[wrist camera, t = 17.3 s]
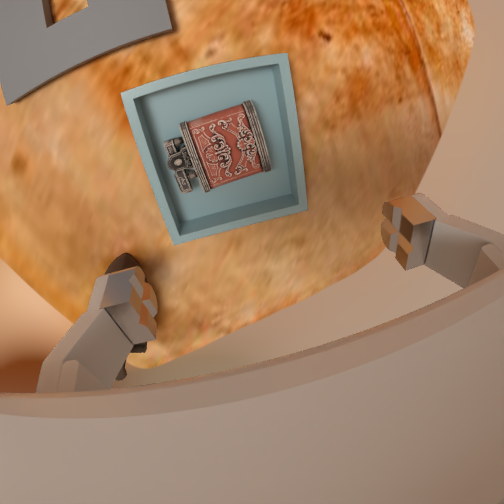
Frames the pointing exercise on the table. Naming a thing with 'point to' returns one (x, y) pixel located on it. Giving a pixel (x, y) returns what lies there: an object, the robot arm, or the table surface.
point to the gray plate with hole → (68, 38)
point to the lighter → (219, 148)
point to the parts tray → (207, 102)
